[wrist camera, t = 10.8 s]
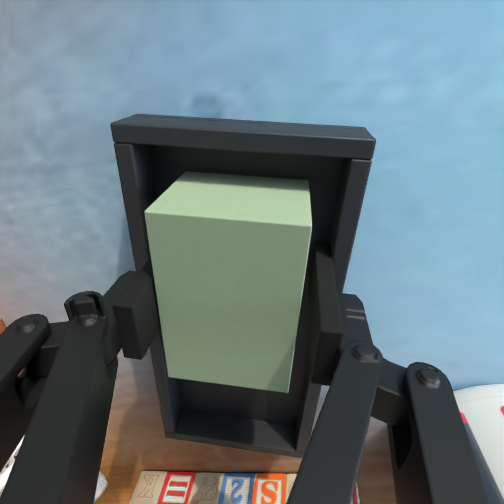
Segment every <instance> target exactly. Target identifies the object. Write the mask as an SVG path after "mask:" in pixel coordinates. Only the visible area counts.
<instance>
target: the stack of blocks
mask: <svg viewBox="0 0 504 504" xmlns="http://www.w3.org/2000/svg"><path fill="white" fill-rule="evenodd" d="M296 475H297V474H287V475H286V474H273V473H256V474H252V473H195V472H175V471H169V472H167V471H142V472H141V474H140V476H139V479H138V482H137V484H136V487H135V490H134V492H133V494H132V497H131V499H130V503H129V504H286V502H287V499H288V497H289V494H290V491H291V489H292V486H293V483H294V481H295V478H296ZM351 504H360V500H359V494H358V488H357V483H355V488H354V492H353V496H352V501H351Z"/></svg>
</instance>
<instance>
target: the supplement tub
mask: <svg viewBox="0 0 504 504" xmlns="http://www.w3.org/2000/svg"><path fill="white" fill-rule="evenodd" d="M453 393H454V396H455V399H456V402H457V405H458V408H459V411H460V414H461V417H462V420H463V423H464V426H465V429H466V432H467V435H468V438H469V441H470V444H471V447H472V450H473V453H474V456H475V459H476V462H477V465H478V468H479V471H480V474H481V477H482V480H483V483H484V486H485V489H486V492H487V495H488V498H489V501H490V504H504V384H491V385H481V386H474V387H468V388H464V389H460V390H456V391H453Z"/></svg>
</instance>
